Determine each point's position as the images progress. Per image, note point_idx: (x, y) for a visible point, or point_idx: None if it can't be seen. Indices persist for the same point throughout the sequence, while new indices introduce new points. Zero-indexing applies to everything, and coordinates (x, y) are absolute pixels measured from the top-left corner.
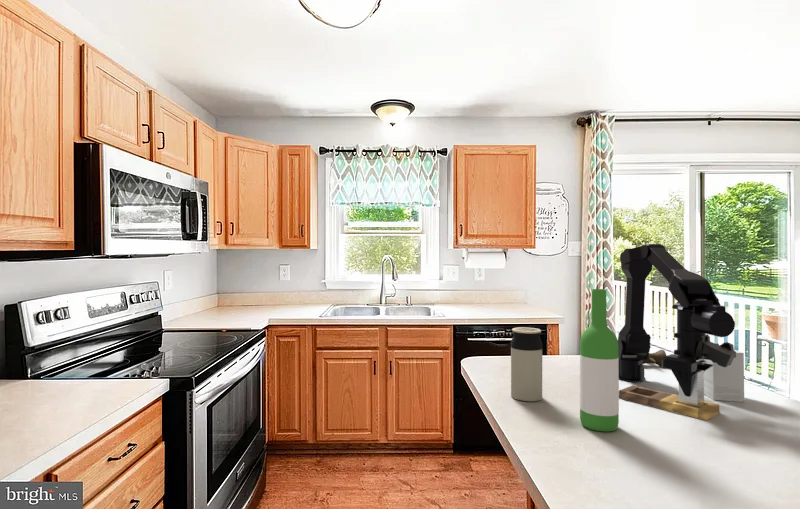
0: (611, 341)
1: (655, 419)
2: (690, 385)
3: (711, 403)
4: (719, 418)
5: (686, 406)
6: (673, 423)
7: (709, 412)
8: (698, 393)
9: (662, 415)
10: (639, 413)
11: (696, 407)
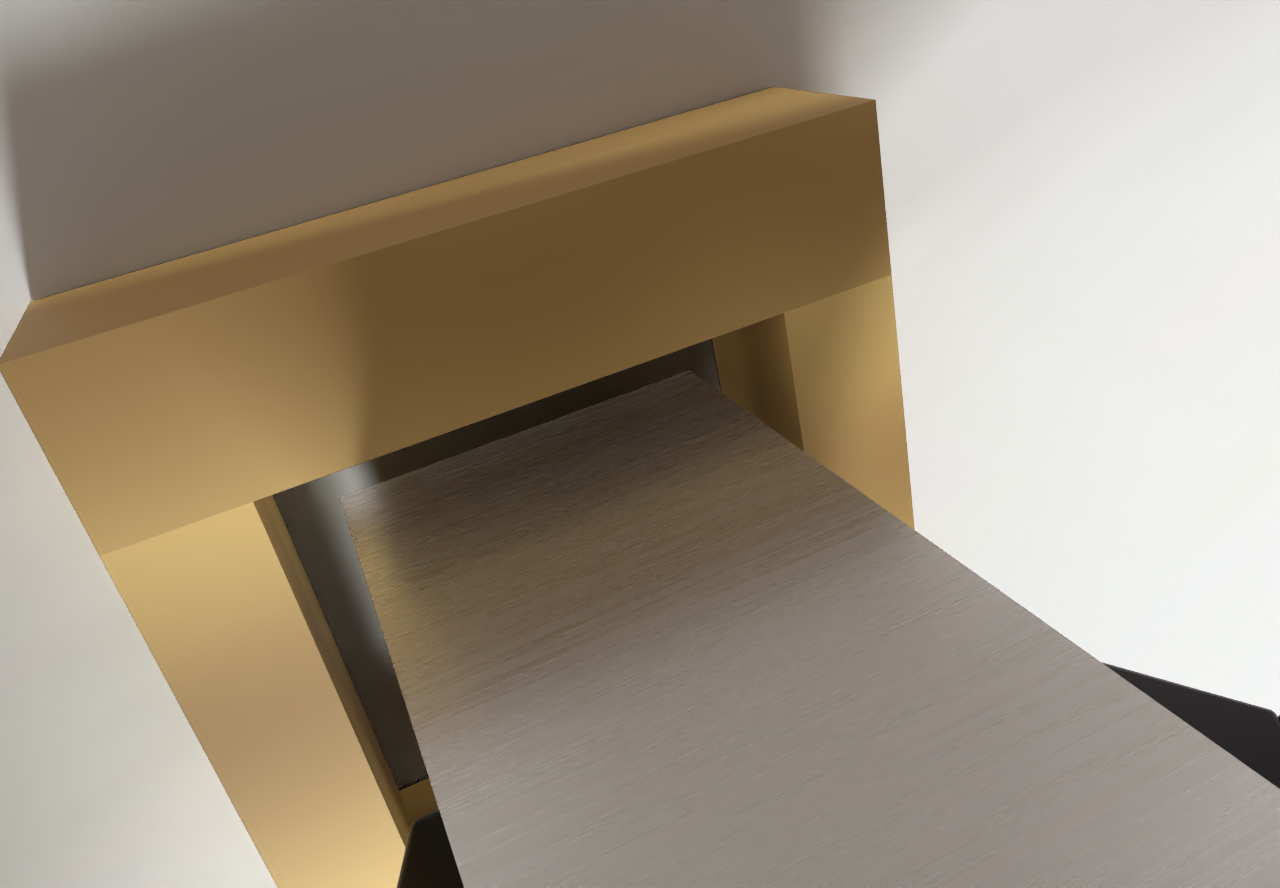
0: None
1: (1275, 408)
2: (1230, 708)
3: (157, 492)
4: (411, 56)
5: (900, 472)
6: (1265, 217)
7: (702, 140)
8: (848, 551)
9: (1085, 501)
10: (1211, 622)
11: (791, 376)
